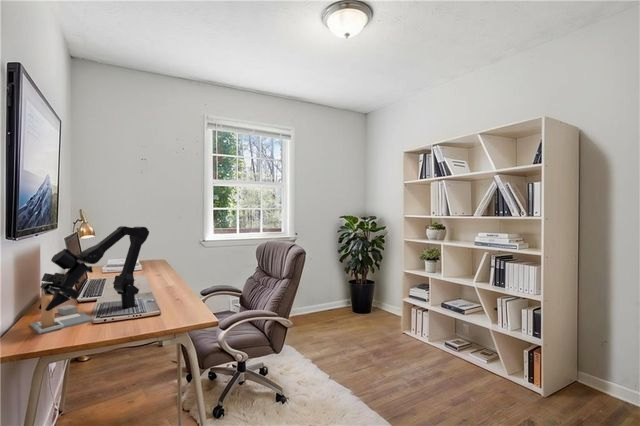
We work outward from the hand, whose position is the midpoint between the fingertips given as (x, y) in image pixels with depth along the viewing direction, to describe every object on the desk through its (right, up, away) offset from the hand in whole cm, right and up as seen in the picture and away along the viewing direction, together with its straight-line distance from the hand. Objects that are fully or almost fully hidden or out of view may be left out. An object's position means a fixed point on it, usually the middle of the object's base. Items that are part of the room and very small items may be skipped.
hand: (42, 309), depth 132 cm
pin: (+1, -8, +1) cm, 8 cm away
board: (+1, -8, +9) cm, 12 cm away
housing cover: (-7, -8, +23) cm, 25 cm away
